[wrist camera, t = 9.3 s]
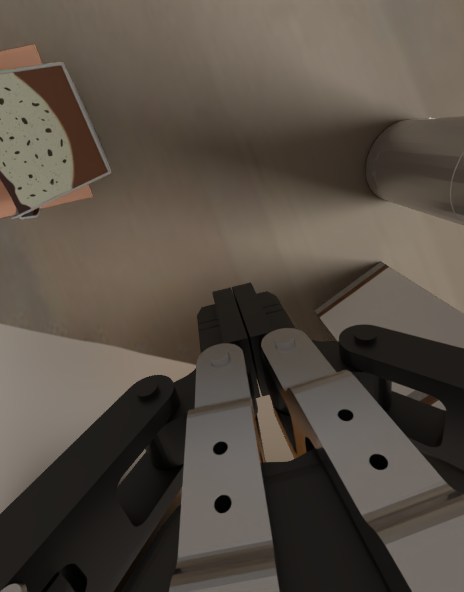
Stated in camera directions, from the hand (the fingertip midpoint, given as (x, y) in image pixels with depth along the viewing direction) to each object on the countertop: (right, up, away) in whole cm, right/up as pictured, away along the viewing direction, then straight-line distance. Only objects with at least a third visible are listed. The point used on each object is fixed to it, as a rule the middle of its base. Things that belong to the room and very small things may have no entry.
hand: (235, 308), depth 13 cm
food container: (-14, +17, +20) cm, 30 cm away
